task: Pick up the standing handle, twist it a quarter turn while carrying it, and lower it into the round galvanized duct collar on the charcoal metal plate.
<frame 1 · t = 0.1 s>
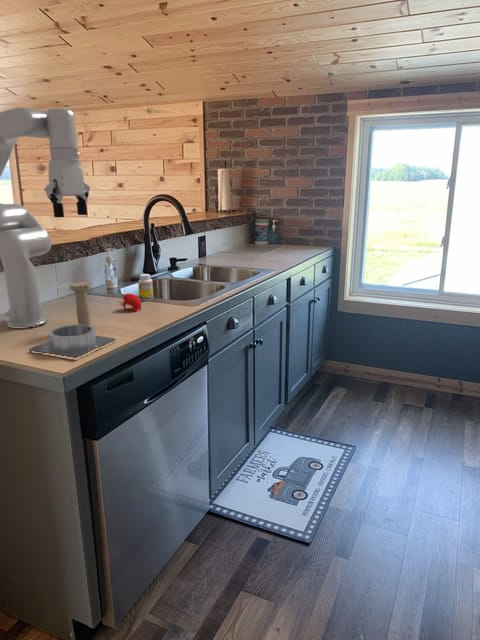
hand: (71, 216, 142), 37 cm above the worktop, tool pointing down, fingers open, 9 cm apart
handle: (84, 329, 156), on the worktop
supplement bottle: (146, 300, 193), on the worktop
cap: (132, 310, 178), on the worktop
duct collar: (73, 346, 139), on the worktop
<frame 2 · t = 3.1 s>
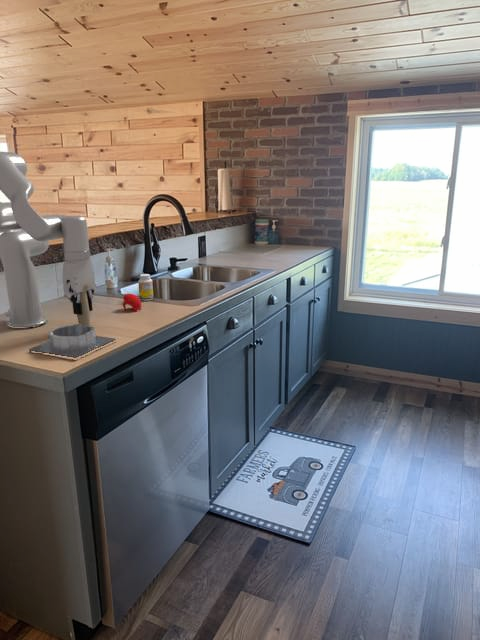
hand: (83, 311, 154), 6 cm above the worktop, tool pointing down, fingers closed on handle, 4 cm apart
handle: (85, 329, 156), on the worktop, touching gripper
everything else where it was.
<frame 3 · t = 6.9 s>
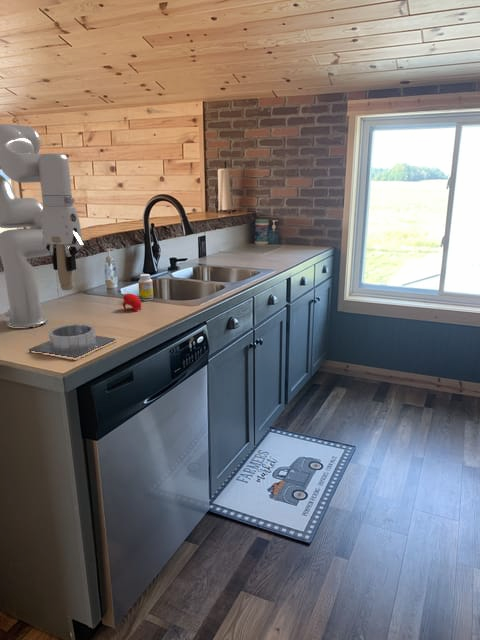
hand: (65, 269, 132), 23 cm above the worktop, tool pointing down, fingers closed on handle, 4 cm apart
handle: (67, 290, 134), point 17 cm above the worktop, touching gripper
everything else where it was.
when the fingers open (8 cm above the worktop, at t = 10.7 s): handle drops 1 cm, resting on duct collar.
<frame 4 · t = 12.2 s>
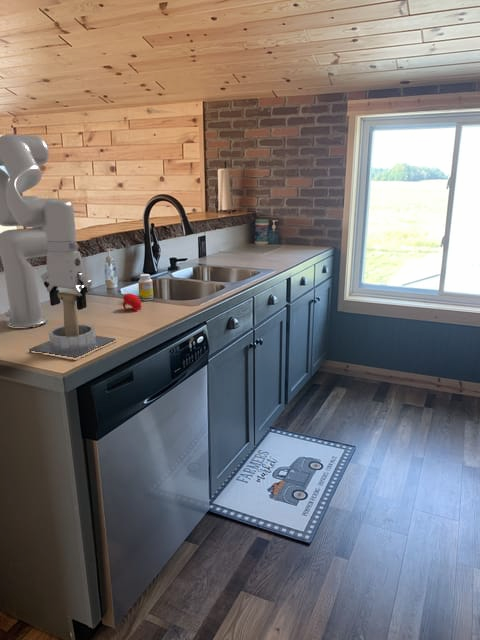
hand: (68, 306, 136), 12 cm above the worktop, tool pointing down, fingers open, 9 cm apart
handle: (73, 344, 139), point 1 cm above the worktop, touching duct collar
everything else where it was.
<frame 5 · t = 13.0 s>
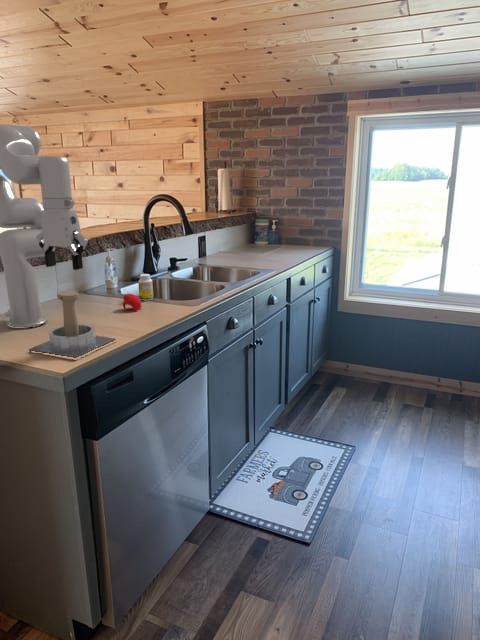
hand: (64, 267, 132), 23 cm above the worktop, tool pointing down, fingers open, 9 cm apart
nothing on the worktop moved.
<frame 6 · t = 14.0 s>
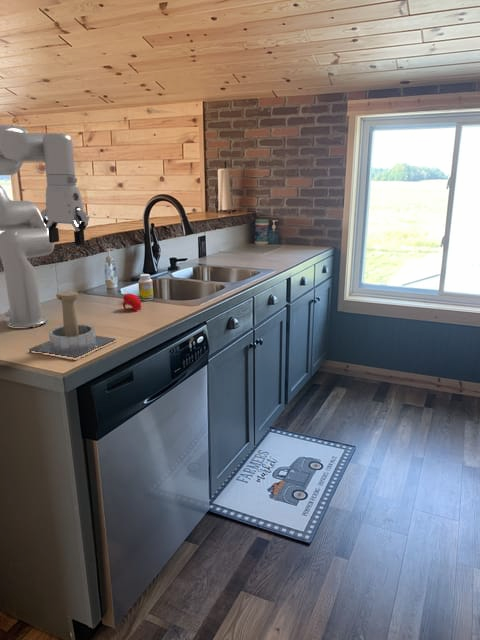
hand: (67, 243, 136), 29 cm above the worktop, tool pointing down, fingers open, 9 cm apart
nothing on the worktop moved.
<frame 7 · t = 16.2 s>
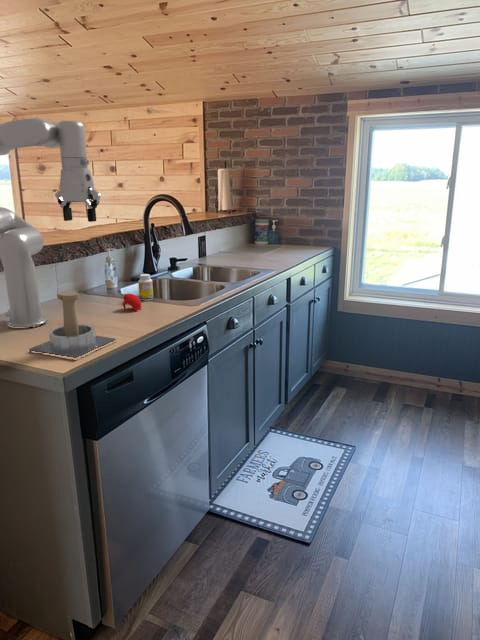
hand: (80, 221, 151), 34 cm above the worktop, tool pointing down, fingers open, 9 cm apart
nothing on the worktop moved.
at the end: handle 0.3 cm off-centre on the duct collar, point 0.8 cm above the duct collar's base; handle tilted 1°; the gripper is holding nothing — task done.
